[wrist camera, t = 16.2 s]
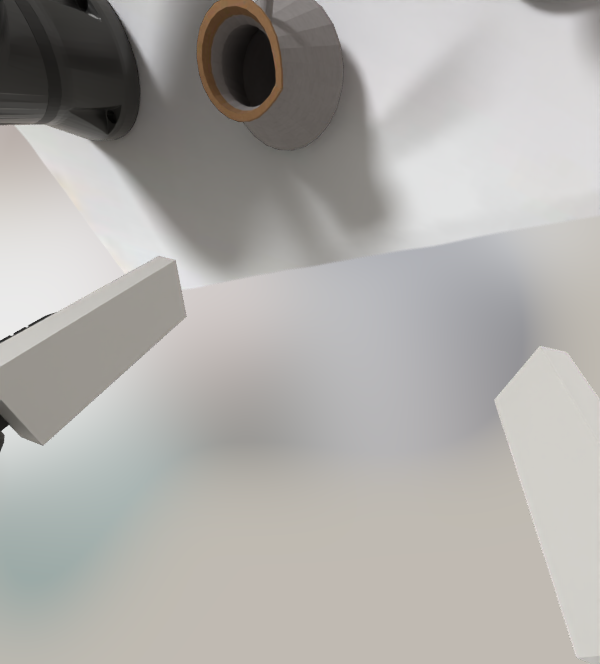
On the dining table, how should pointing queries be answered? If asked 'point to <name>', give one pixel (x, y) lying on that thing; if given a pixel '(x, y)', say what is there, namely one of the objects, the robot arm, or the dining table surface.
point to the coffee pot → (272, 67)
